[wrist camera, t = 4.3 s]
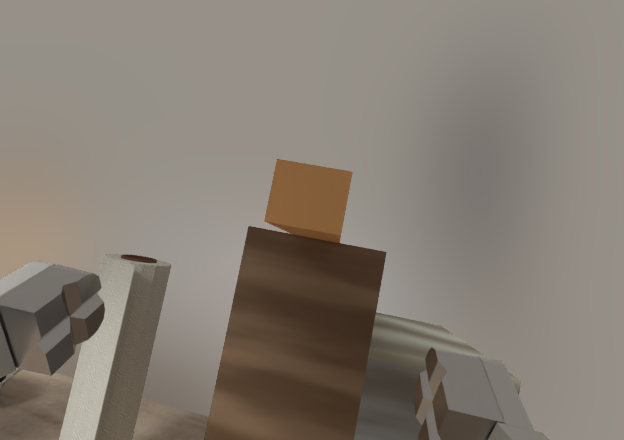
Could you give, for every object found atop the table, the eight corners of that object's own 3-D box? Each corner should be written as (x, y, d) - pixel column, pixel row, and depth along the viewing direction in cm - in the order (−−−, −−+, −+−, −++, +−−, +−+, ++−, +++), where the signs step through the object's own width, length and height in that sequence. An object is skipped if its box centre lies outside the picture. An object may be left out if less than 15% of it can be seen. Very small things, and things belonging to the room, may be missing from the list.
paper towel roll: (87, 458, 36) (135, 252, 37) (136, 477, 34) (184, 263, 36) (13, 505, 29) (77, 250, 30) (72, 532, 27) (135, 263, 29)
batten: (340, 235, 13) (352, 172, 13) (264, 221, 13) (276, 159, 14) (338, 248, 38) (342, 225, 38) (311, 242, 38) (315, 220, 38)
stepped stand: (470, 755, 19) (534, 280, 21) (158, 658, 20) (248, 225, 23) (409, 526, 35) (449, 269, 37) (236, 481, 36) (285, 237, 39)
